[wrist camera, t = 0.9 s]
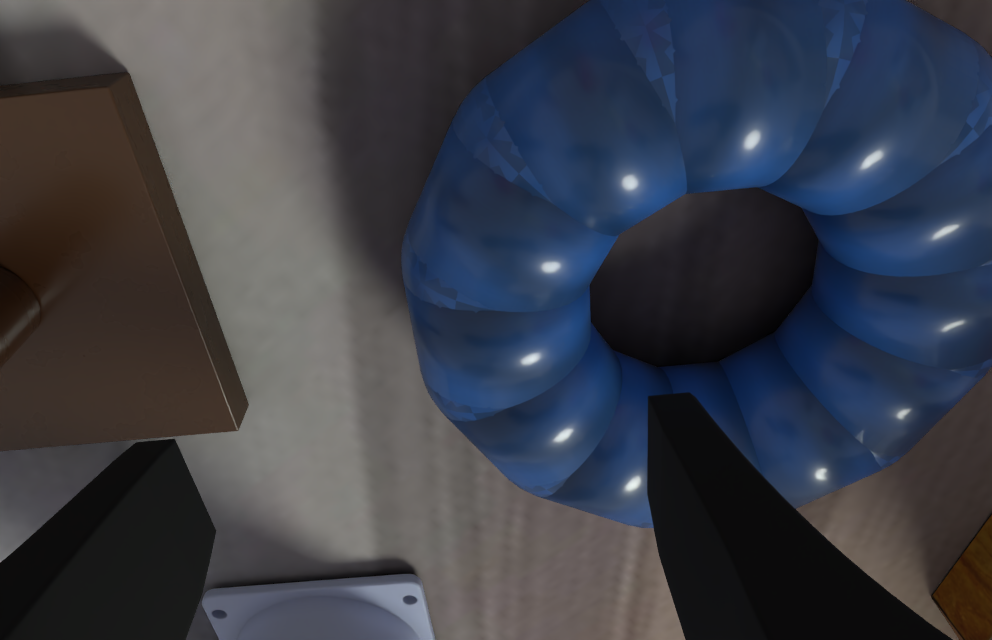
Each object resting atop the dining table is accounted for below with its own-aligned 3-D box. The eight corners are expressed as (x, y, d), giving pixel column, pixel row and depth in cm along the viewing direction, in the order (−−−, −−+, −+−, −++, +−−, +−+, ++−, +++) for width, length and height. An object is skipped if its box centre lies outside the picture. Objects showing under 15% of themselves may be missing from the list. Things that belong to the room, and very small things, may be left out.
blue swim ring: (905, 428, 24) (983, 537, 20) (452, 465, 24) (447, 579, 21) (1039, -87, 16) (1208, -62, 12) (367, -12, 16) (333, 33, 13)
